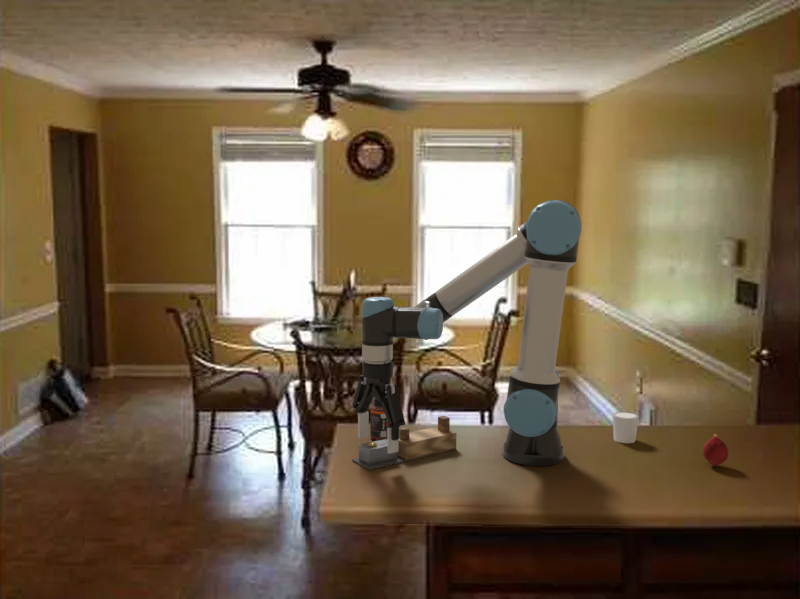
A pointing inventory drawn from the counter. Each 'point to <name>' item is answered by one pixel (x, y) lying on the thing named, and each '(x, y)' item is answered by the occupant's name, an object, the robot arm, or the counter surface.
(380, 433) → the supplement bottle
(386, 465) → the mat
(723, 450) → the onion
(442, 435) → the body
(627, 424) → the white cup
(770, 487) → the counter surface
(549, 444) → the robot arm
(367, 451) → the lever cap
